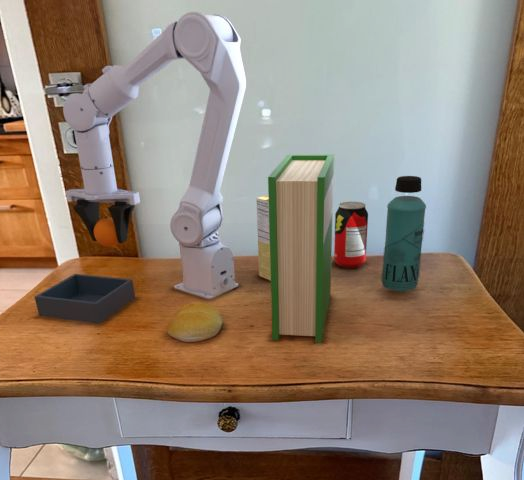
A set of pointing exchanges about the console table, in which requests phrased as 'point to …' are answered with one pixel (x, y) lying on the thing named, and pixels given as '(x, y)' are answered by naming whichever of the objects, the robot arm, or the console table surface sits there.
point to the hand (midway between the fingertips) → (109, 240)
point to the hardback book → (301, 244)
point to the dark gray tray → (85, 298)
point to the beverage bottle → (403, 237)
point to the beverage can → (350, 234)
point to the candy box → (263, 237)
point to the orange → (106, 232)
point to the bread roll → (195, 322)
